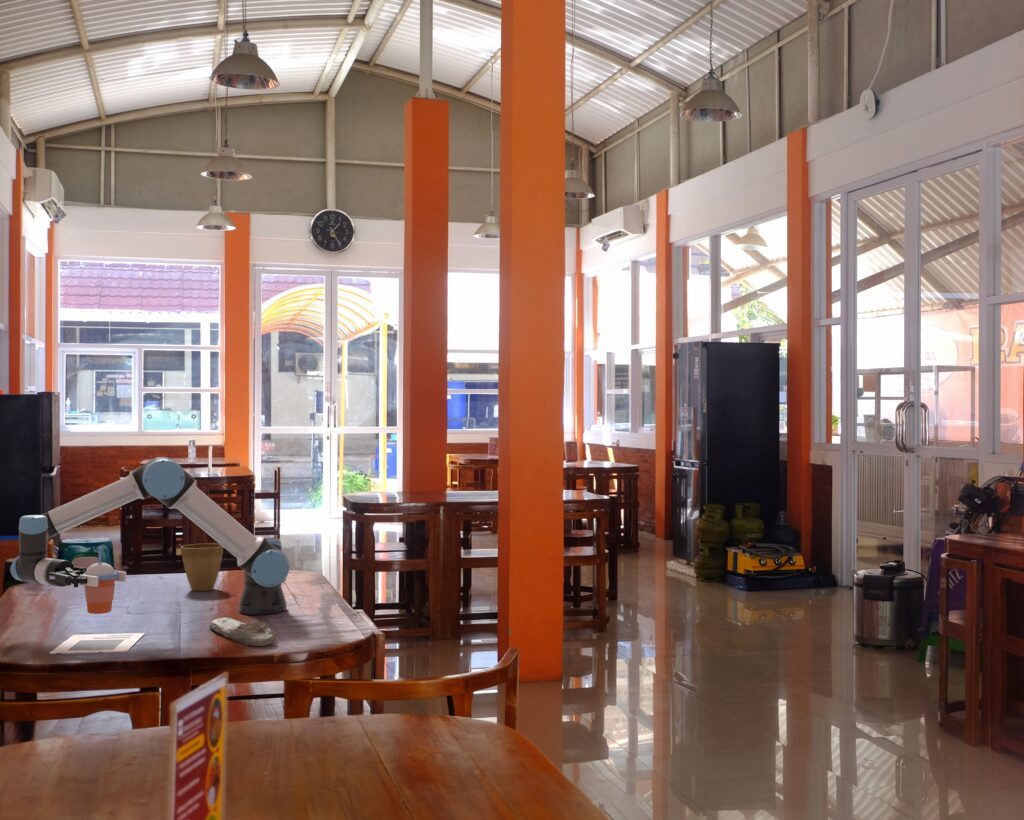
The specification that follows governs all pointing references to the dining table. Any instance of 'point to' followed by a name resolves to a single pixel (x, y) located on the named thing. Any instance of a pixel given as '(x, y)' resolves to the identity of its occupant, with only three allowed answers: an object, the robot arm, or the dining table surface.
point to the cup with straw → (100, 587)
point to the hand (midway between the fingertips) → (111, 579)
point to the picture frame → (98, 643)
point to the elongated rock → (244, 631)
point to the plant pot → (202, 565)
